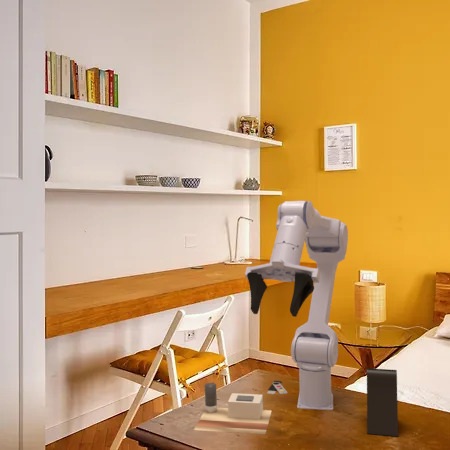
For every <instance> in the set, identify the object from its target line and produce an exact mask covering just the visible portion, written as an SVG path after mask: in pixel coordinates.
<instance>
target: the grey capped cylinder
mask: <svg viewBox="0 0 450 450" xmlns="http://www.w3.org/2000/svg"><path fill="white" fill-rule="evenodd" d="M217 399H218V398H217V383H215V382H206V383H204V403H205V404H204V405H205V406H204V408H205V410H204V411H206V412H207V413H215V412H217V408H218V403H217V402H218V401H217Z"/></svg>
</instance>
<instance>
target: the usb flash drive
mask: <svg viewBox="0 0 450 450" xmlns="http://www.w3.org/2000/svg"><path fill="white" fill-rule="evenodd" d="M282 383H283V381H281V380H273V382H272V383H271V384H270V386H269V388H268V390H267V392H266V394H267V395H268V394H270V395H274V394H276V392H278V394H279V395H283V394H285V395H286V394H288V391H287V390H286V388H284V386H283V385H282Z"/></svg>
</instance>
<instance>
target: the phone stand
mask: <svg viewBox="0 0 450 450" xmlns="http://www.w3.org/2000/svg"><path fill="white" fill-rule="evenodd" d="M398 412H399V411H398V371H397V369H389V368H388V369H386V368H385V369H383V368H370V367H369V368H368V367H366V426H367V427H366V433H367V435H377V436H388V437H389V436H390V437H399V417H398V416H399V415H398V414H399V413H398Z"/></svg>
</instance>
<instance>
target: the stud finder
mask: <svg viewBox="0 0 450 450" xmlns="http://www.w3.org/2000/svg"><path fill="white" fill-rule="evenodd" d="M263 400H264V397H263V394H257V393H255V394H253V393H236V392H235V393H233V392H232V393H231V395H230V397H229V399H228V400H227V408H228V417H229V418H246V419H260V418H261V415H262V411H263V410H264V403H263Z"/></svg>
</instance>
